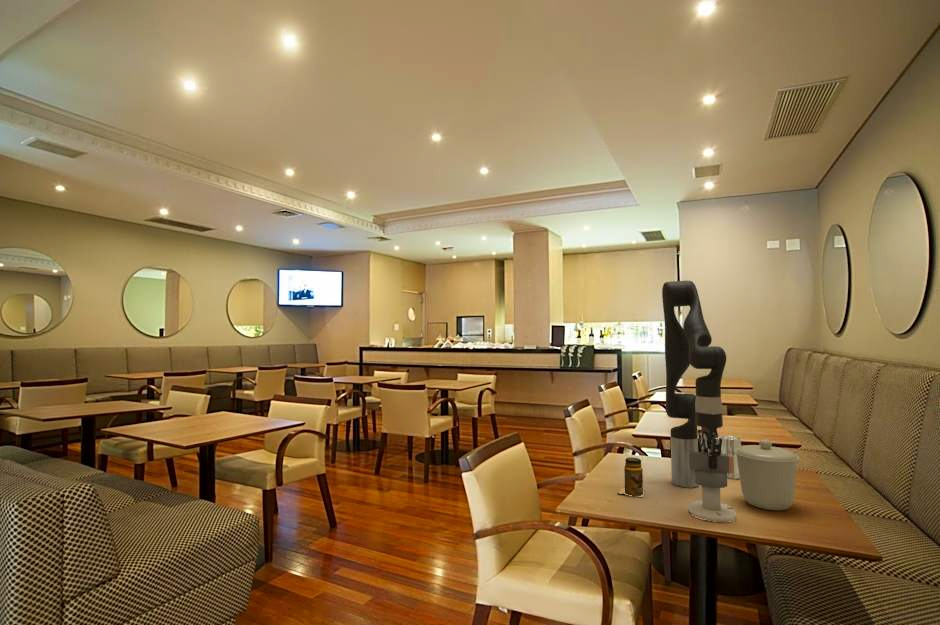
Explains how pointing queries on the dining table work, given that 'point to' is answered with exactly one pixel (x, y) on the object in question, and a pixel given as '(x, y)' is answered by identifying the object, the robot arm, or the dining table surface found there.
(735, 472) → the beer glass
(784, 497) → the canister
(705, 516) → the post base
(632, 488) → the condiment
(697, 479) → the twist cap
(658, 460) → the dining table surface
